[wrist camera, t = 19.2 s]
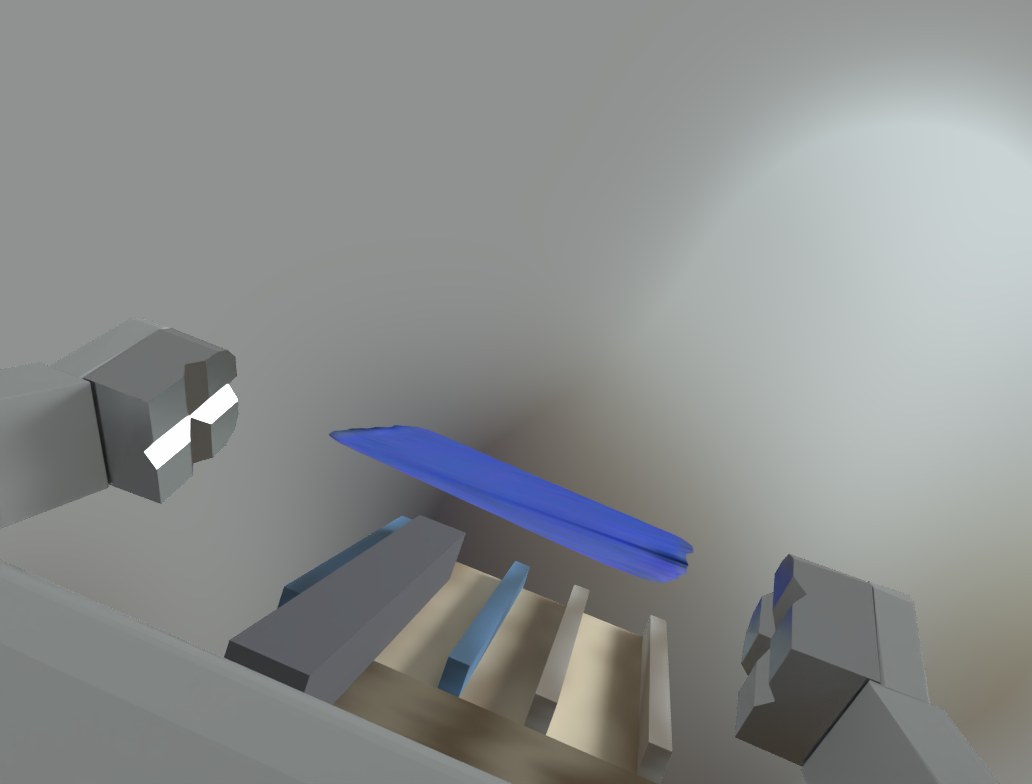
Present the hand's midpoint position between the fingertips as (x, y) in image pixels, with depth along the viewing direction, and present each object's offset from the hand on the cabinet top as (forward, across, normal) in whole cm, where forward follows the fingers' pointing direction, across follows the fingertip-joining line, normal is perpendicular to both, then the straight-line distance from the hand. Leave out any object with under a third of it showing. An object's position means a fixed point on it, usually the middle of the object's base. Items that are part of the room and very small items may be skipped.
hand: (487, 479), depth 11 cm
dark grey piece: (+13, +7, +24) cm, 28 cm away
